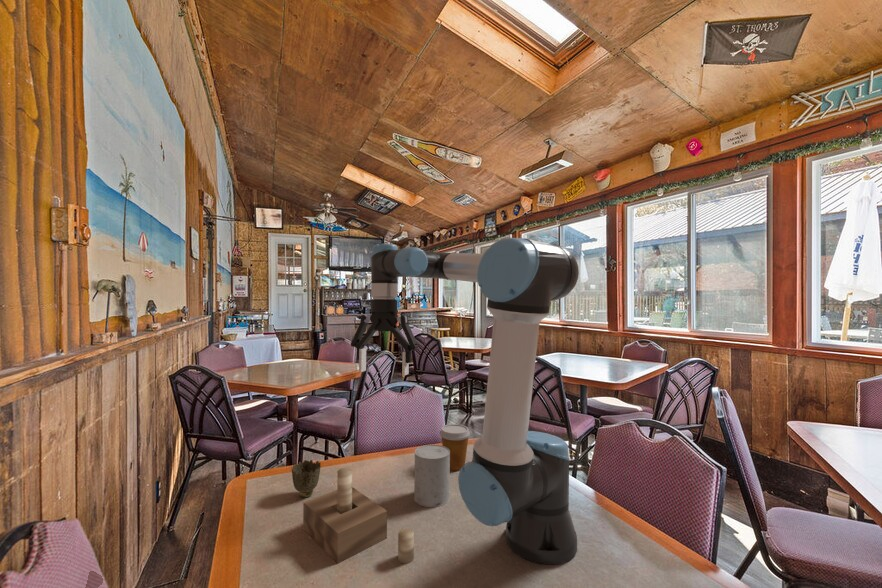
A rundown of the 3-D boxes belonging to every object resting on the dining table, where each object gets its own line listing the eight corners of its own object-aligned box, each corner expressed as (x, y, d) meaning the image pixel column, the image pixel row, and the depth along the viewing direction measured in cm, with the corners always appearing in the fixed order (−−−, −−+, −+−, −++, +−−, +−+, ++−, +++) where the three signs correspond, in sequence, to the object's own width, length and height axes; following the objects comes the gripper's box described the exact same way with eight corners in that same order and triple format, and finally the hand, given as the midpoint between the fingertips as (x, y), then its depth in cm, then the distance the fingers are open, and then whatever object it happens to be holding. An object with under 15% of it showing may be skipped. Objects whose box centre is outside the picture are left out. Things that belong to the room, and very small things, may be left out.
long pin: (354, 533, 87) (354, 470, 87) (342, 539, 84) (342, 475, 84) (347, 527, 89) (347, 466, 89) (334, 532, 87) (334, 470, 87)
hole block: (386, 538, 85) (387, 510, 85) (337, 563, 77) (338, 533, 77) (349, 509, 96) (349, 485, 96) (303, 528, 88) (303, 502, 88)
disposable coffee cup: (474, 464, 123) (475, 427, 123) (460, 476, 115) (460, 436, 115) (449, 458, 128) (449, 421, 128) (433, 468, 120) (434, 430, 120)
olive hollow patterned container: (284, 499, 101) (285, 468, 101) (303, 486, 108) (303, 457, 108) (308, 504, 98) (308, 473, 98) (325, 491, 105) (326, 461, 105)
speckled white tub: (446, 509, 97) (446, 460, 97) (409, 504, 99) (410, 457, 99) (452, 490, 106) (452, 446, 106) (419, 487, 108) (419, 443, 108)
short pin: (416, 558, 78) (417, 533, 78) (404, 565, 76) (404, 540, 76) (407, 550, 81) (407, 526, 81) (394, 557, 78) (395, 533, 79)
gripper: (429, 299, 109) (429, 373, 109) (353, 298, 117) (352, 367, 117) (420, 299, 102) (419, 378, 102) (339, 298, 110) (338, 372, 110)
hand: (383, 373), depth 109 cm, fingers open, 13 cm apart
